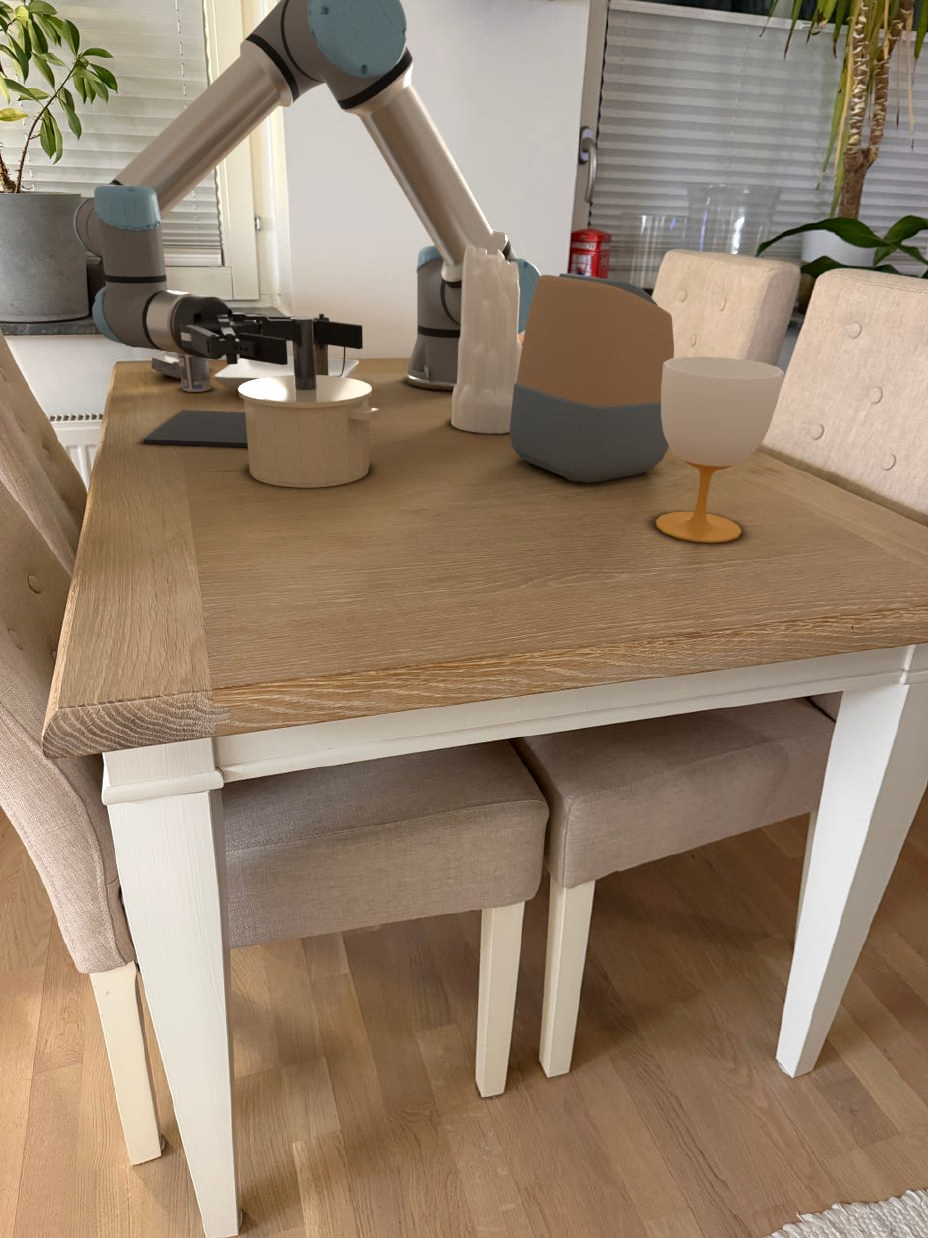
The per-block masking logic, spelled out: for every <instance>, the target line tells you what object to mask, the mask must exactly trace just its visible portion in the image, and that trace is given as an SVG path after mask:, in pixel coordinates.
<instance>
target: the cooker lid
mask: <svg viewBox="0 0 928 1238" xmlns="http://www.w3.org/2000/svg"><path fill="white" fill-rule="evenodd" d="M312 317H313V316H312ZM312 317H311V316H295V317H292V318H291V325H292V341H291V343H292V344H291V345H292V356H293V362H294V375H286V376H275V377H267V378H261V379H256V380H252V381H249V382H246V383H244V384H242V385H241V386H240V387H239V388H238V390H237V393H238V397H239V396H240V397H239V398H241V399H242V400H243V401H244V400H246V401H249V402H252V403H256V404H261V405H267V406H275V407H287V408H321V407H334V406H342V405H348V404H353V403H357V402H360V401H363V400H366V399H368V400H369V398H371V397H372V396H373V388H372V385H371V384H369V383H368V382H365V381H362V380H360V379H355V378H350V377H347V378H345V377H338V376H326V375H316V356H315V333H314V318H312Z"/></svg>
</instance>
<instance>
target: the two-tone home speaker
mask: <svg viewBox="0 0 928 1238" xmlns="http://www.w3.org/2000/svg"><path fill="white" fill-rule="evenodd" d="M523 335H524V340H523V346H522V352H521V358H520V364H519V370H518V376H517V382H516V384H515V385H514V391H513V401H512V411H511V421H510V431H509V433H508V434H509V437H510V441H511V445H512V448H513V450H514V451H515V452H516V454H517V455H518V456H519V457H520V458H521V459H522V460H524V461H525V462H526V463H528V464H529V465H534V466H537V467H539V468H542V469H544V470H547V471H550V472H551V473H554V474H557V475H559V476H562V477H564V478H565V479H566V480H567V481H569V482H573V483H581V484H591V483H602V482H606V481H611V480H617V479H621V478H626V477H632V476H638V475H640V474H643V473H645V472H648V471H650V470H653V469H654V468H655V467H656V466H658V465H659V464H660V463H661V462H662V461H663V459H664V457H665V455H666V453H667V452H668V450H669V448H670V447H669V445H668V443H667V441H666V438H665V436H664V433H663V427H662V420H661V384H662V372H663V363H664V362H665V361H667V360H669V359H673V358H675V342H674V329H673V318H672V314H671V313H670V312H669V311H667V310H666V309H664V308H663V307H660V305H658V303H657V302H656V301H655V299H654V298H653V297H652V296H651V295H649V294H648V293H647V292H646V291H645V290H644V289H642V288H641V287H639V286H637V285H635V284H633V283H630V282H626V281H621V280H617V279H616V280H615V279H610V278H602V277H596V276H588V275H582V274H576V273H559V275H558V276H557V275H552V274H541V276H539V278H538V281H537V284H536V288H535V292H534V296H533V299H532V303H531V307H530V311H529V314H528V318H527V322H526V328H525V330H524V334H523Z"/></svg>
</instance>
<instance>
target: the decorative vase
mask: <svg viewBox="0 0 928 1238" xmlns="http://www.w3.org/2000/svg"><path fill="white" fill-rule="evenodd" d="M519 301H520V287H519V271H518V264H517V263H516V262H511V263H509V262H508V261H506V260H505V257H504V255H503V254H502V252H500V250H499V249H498V251H497V256H496V255H489V256H488V257H487V250H486V249H484V248H482V247H480V248H478V249H477V251H476V248H475V247H474V246H473V245H472V244H468V245H467V246H466V251H465V255H464V261H463V267H462V296H461V333H460V338H459V343H458V374H457V383H456V384H455V386H454V390H452V397H451V398H452V399H451V426H453V427H454V428H455V429H458V430H460V431H464V432H469V433H477V434H486V435H488V434H490V435H495V434H499V435H500V434H509V431H510V421H511V411H512V401H513V391H514V385H515V384H516V382H517V376H518V370H519V364H520V358H521V352H522V345H521V342H520V340H519V338H518V320H519Z"/></svg>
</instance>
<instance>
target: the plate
mask: <svg viewBox="0 0 928 1238" xmlns="http://www.w3.org/2000/svg"><path fill="white" fill-rule="evenodd" d="M343 359H344V358H331V357H330V358H329V357H328V374H329V376H339V375H341V374H342V369H343ZM287 360H288V364H287V365H279V364H272V363H266V362H260V361H254V360H248V359H242V358H240V357H239V358H237V362H238V364H228V365H227V366H225V367H224V368H223V369H221V370H219V371H218V372H217V373H215V374H213V379H214V380H215V381H216V382H217V383H218V384H220V385H222V386H223V387H226V388H228V389H231V390H234V391H235V390H236V391H238V388H239V387H240V386H241V385H242V384H244V383H246V382H249V381H252V380H256V379H261V378H267V377H275V376H286V375H294V362H293V355H292V356H289V355H287ZM359 363H360V361H359V360H358V359H348V358H347V359H346V358H345V367H344V371H343V374H342V376H340V377H345V378H348V377H349V375H351V374H352V373H353V372H354V371H355V370H356V368H357V367H358V365H359Z"/></svg>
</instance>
